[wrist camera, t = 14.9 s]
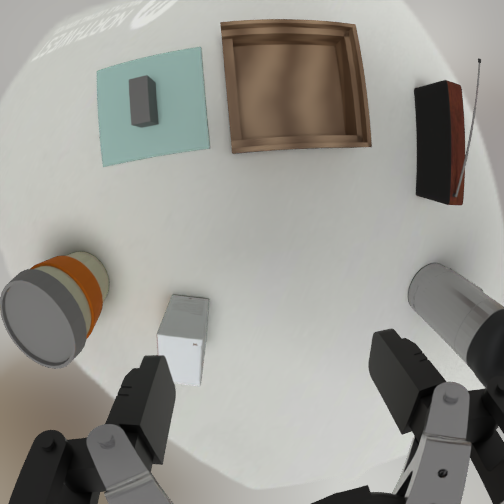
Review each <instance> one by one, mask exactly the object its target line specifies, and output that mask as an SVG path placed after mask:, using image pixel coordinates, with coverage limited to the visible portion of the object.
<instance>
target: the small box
mask: <svg viewBox="0 0 504 504" xmlns="http://www.w3.org/2000/svg"><path fill="white" fill-rule="evenodd" d="M208 308H209V299H204V298H195V297H186V296H178V295H172V297H171V300H170V302H169V304H168V307H167V310H166V312H165V314H164V317H163V320H162V322H161V325H160V327H159V330H158V332H157V349H158V355H164V356H165V357H166V360H167V363H168V366H169V369H170V373H171V376H172V379H173V382H174V383H177V384H184V385H191V386H201V379H202V371H203V363H204V355H205V348H206V336H207V321H208Z"/></svg>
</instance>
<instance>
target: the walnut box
mask: <svg viewBox="0 0 504 504" xmlns="http://www.w3.org/2000/svg"><path fill="white" fill-rule="evenodd" d="M220 24H221V33H222V44H223V55H224V67H225V78H226V89H227V101H228V111H229V122H230V133H231V145H232V153H233V154H236V153H246V152H258V151H271V150H287V149H308V148H354V147H372V144H371V130H370V119H369V109H368V99H367V91H366V83H365V76H364V69H363V63H362V57H361V51H360V45H359V40H358V35H357V30H356V25H355V24H348V23H339V22H329V21H316V20H292V19H267V20H244V21H230V22H220Z"/></svg>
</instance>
